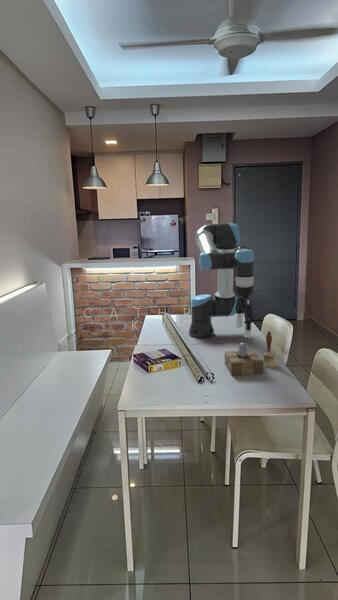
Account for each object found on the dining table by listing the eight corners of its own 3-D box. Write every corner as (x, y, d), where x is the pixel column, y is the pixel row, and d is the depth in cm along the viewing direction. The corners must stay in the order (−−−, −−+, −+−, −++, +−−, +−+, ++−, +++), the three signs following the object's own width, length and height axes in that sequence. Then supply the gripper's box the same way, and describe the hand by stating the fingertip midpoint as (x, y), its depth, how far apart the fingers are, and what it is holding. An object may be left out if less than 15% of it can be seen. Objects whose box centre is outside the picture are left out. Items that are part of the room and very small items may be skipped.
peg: (238, 367, 170) (238, 342, 167) (245, 366, 170) (246, 342, 167) (239, 370, 166) (240, 345, 164) (247, 369, 166) (248, 344, 164)
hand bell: (265, 369, 167) (266, 335, 163) (256, 362, 174) (257, 330, 171) (281, 366, 169) (282, 333, 165) (271, 360, 177) (272, 328, 173)
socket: (224, 363, 174) (224, 351, 173) (253, 361, 175) (253, 350, 174) (231, 375, 161) (231, 363, 159) (262, 374, 161) (263, 361, 160)
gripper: (229, 280, 171) (228, 323, 176) (243, 292, 147) (242, 341, 152) (245, 279, 172) (244, 323, 177) (261, 291, 147) (260, 340, 152)
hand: (243, 331), depth 164 cm, fingers open, 13 cm apart
